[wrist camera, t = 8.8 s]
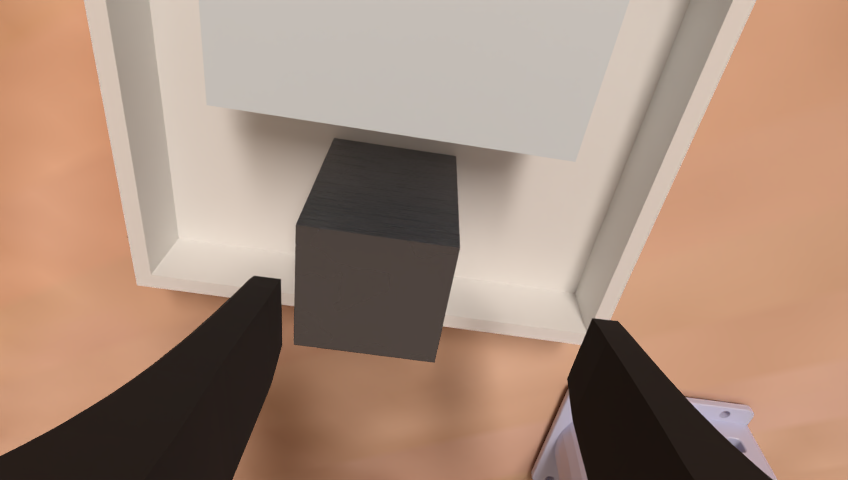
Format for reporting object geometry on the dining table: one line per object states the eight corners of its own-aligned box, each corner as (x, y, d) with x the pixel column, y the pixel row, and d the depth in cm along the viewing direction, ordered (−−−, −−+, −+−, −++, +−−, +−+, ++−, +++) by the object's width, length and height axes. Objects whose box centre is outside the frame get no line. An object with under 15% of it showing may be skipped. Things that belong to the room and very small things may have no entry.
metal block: (456, 156, 20) (460, 248, 15) (436, 254, 22) (434, 362, 17) (333, 137, 19) (295, 225, 14) (328, 240, 22) (293, 344, 17)
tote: (757, -136, 15) (820, -141, 13) (581, 298, 24) (597, 347, 21) (103, -260, 14) (29, -292, 12) (170, 241, 23) (137, 285, 20)
